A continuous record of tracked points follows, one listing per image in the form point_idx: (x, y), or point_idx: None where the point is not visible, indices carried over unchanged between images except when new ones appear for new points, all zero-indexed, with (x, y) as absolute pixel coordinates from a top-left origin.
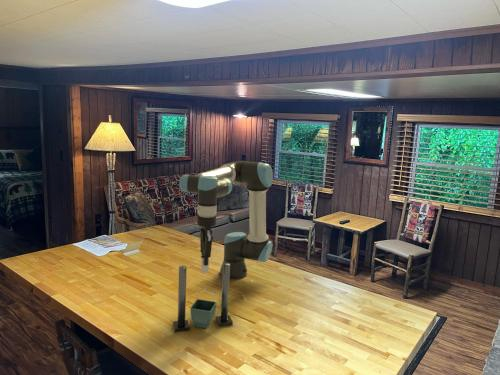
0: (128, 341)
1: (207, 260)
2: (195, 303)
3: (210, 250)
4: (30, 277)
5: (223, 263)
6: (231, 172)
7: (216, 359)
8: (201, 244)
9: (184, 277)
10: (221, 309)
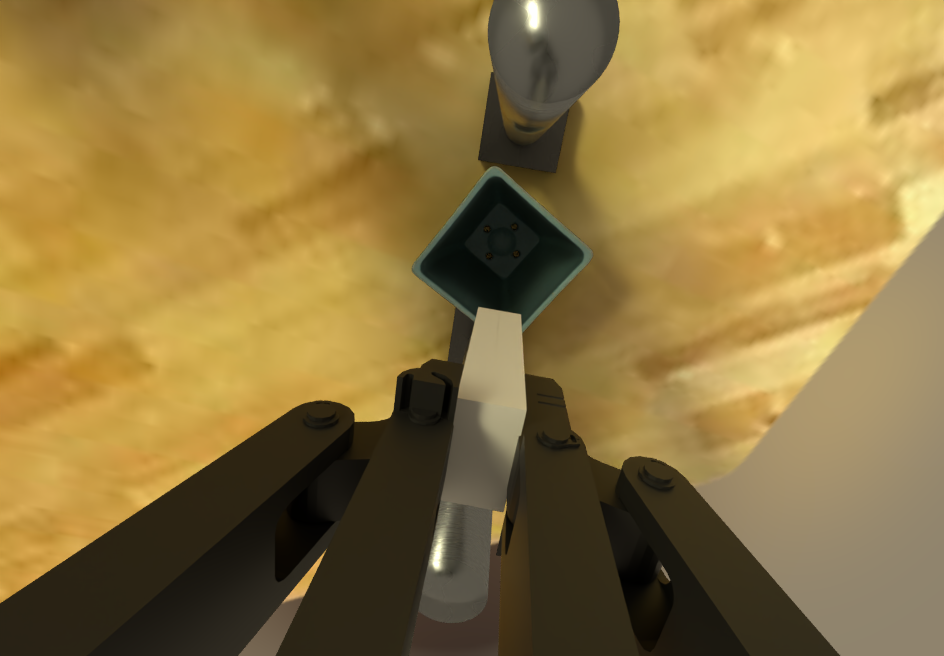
0: (500, 525)
1: (568, 428)
2: (452, 294)
3: (809, 643)
4: None
5: (507, 75)
6: None
7: (789, 293)
8: (235, 646)
9: (490, 514)
10: (528, 142)
